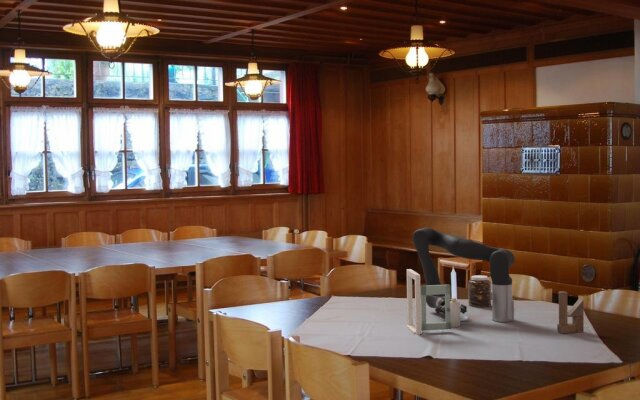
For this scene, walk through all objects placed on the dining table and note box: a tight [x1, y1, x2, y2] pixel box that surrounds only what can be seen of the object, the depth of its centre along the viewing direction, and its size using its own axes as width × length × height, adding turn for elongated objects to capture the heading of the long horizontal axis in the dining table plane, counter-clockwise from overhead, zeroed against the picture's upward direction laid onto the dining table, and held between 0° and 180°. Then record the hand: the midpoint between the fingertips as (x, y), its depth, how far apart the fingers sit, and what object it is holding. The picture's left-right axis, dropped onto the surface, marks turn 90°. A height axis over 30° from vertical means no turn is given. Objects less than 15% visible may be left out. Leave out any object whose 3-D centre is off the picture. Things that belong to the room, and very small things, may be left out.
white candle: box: [450, 297, 461, 328], centre depth 359 cm, size 5×5×13 cm
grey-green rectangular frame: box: [420, 284, 451, 332], centre depth 346 cm, size 13×3×20 cm, turn 96°
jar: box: [467, 274, 492, 308], centre depth 405 cm, size 12×12×15 cm
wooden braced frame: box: [556, 290, 585, 335], centre depth 340 cm, size 4×11×18 cm, turn 102°
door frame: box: [406, 268, 423, 336], centre depth 352 cm, size 4×18×26 cm, turn 6°
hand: (454, 311), depth 358 cm, fingers open, 8 cm apart
